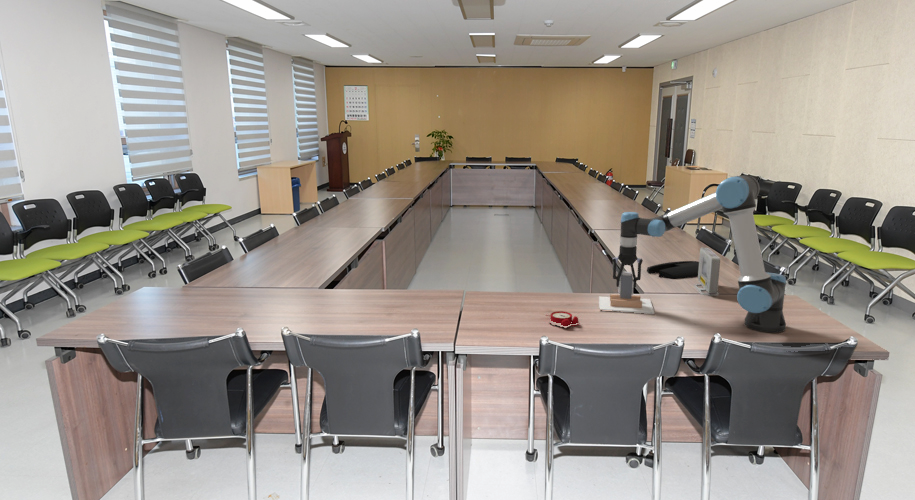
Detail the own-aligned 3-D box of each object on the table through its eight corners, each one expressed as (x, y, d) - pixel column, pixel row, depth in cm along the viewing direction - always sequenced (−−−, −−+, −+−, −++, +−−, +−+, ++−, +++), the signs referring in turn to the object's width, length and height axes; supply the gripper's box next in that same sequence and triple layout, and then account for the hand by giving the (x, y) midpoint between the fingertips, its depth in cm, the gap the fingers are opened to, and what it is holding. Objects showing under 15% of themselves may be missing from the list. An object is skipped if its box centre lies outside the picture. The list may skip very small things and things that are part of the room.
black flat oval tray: (725, 273, 313) (725, 265, 312) (669, 281, 298) (670, 272, 297) (692, 264, 335) (692, 256, 334) (639, 271, 321) (639, 263, 320)
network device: (721, 297, 267) (725, 258, 263) (702, 297, 269) (706, 257, 264) (709, 283, 291) (712, 247, 287) (691, 283, 293) (694, 247, 289)
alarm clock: (559, 309, 244) (584, 310, 231) (561, 323, 244) (586, 325, 231) (542, 314, 238) (567, 315, 225) (544, 328, 238) (569, 330, 226)
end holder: (654, 314, 245) (654, 305, 244) (599, 311, 251) (599, 302, 250) (649, 300, 264) (650, 293, 263) (598, 298, 270) (599, 290, 269)
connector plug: (631, 298, 254) (632, 274, 251) (620, 298, 255) (621, 273, 252) (630, 295, 258) (631, 271, 256) (619, 295, 260) (620, 271, 257)
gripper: (647, 244, 253) (645, 292, 258) (607, 243, 257) (605, 290, 262) (649, 247, 246) (646, 297, 251) (608, 246, 250) (606, 294, 255)
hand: (625, 293), depth 256 cm, fingers closed on connector plug, 5 cm apart
